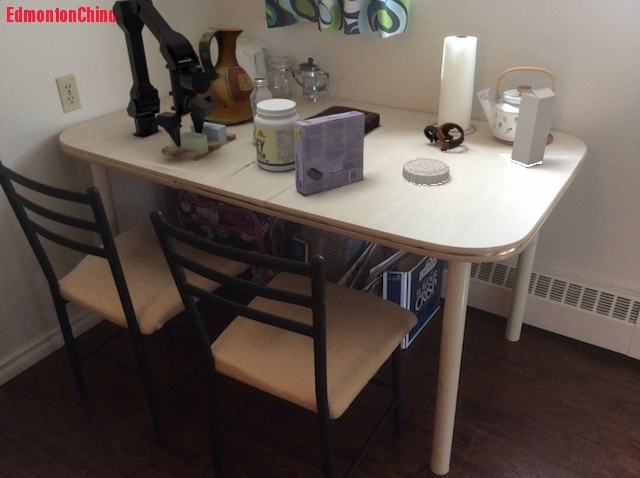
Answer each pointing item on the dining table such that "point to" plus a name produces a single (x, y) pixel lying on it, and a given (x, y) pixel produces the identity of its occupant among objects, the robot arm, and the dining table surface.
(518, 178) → the dining table surface
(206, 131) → the slate block
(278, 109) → the supplement tub
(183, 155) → the slot rack
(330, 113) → the diary
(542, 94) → the milk
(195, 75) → the robot arm
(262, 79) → the plastic bottle
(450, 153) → the dining table surface
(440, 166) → the mooncake
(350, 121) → the cake pan box
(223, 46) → the ceramic pitcher
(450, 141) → the brown coiled piece
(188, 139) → the sage block
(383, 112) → the dining table surface
